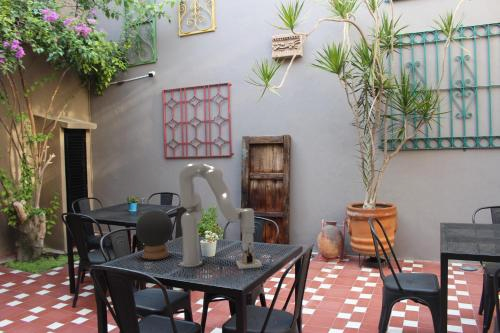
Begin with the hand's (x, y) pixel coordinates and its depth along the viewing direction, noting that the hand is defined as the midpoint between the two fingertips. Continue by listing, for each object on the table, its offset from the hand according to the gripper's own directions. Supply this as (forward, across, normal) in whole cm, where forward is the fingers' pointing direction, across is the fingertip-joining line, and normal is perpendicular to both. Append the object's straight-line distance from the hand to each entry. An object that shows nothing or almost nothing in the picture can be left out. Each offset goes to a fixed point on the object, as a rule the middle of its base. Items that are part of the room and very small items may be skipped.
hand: (248, 260), depth 255 cm
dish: (+3, 0, 0) cm, 3 cm away
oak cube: (+1, 0, 0) cm, 1 cm away
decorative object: (+3, -38, -53) cm, 65 cm away
